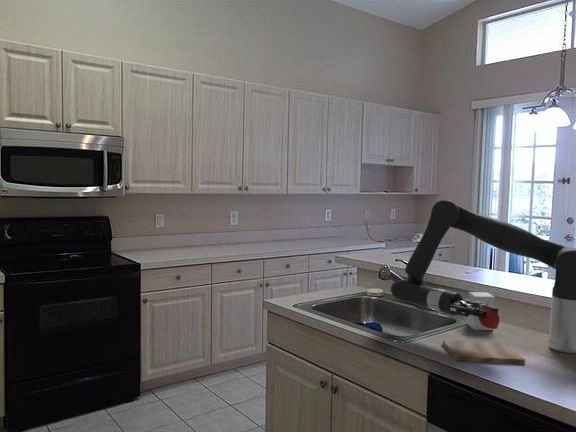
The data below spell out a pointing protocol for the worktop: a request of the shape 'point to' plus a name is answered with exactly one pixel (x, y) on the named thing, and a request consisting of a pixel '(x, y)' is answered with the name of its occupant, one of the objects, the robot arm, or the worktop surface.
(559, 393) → the worktop surface
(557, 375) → the worktop surface
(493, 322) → the onion
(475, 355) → the cutting board
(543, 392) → the worktop surface
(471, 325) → the supplement box
